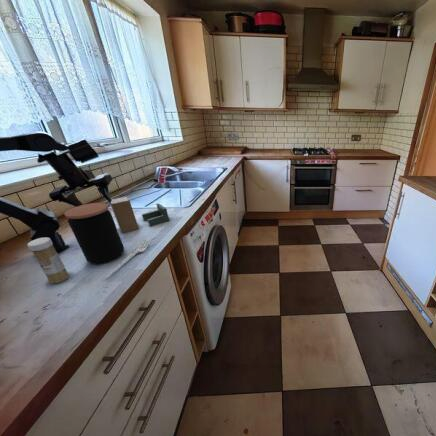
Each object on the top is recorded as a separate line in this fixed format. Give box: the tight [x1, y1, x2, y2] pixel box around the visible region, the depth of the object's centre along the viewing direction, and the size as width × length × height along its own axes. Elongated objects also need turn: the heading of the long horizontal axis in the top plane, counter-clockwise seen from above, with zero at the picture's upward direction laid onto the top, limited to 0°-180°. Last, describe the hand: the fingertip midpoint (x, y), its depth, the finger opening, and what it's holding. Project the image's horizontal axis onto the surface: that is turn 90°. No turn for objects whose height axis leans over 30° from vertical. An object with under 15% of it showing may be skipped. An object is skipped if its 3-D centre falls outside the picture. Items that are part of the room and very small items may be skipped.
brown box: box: [109, 196, 140, 234], centre depth 95 cm, size 6×6×13 cm
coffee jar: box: [63, 202, 125, 265], centre depth 75 cm, size 11×11×18 cm
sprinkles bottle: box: [26, 237, 70, 284], centre depth 66 cm, size 5×5×13 cm
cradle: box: [141, 202, 170, 227], centre depth 103 cm, size 8×9×6 cm
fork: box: [104, 239, 150, 279], centre depth 77 cm, size 3×20×2 cm, turn 177°
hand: (98, 205), depth 87 cm, fingers open, 9 cm apart
